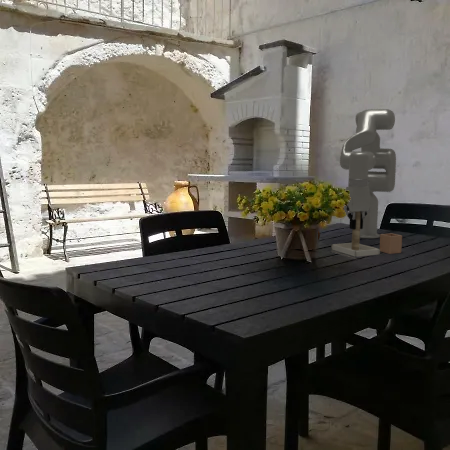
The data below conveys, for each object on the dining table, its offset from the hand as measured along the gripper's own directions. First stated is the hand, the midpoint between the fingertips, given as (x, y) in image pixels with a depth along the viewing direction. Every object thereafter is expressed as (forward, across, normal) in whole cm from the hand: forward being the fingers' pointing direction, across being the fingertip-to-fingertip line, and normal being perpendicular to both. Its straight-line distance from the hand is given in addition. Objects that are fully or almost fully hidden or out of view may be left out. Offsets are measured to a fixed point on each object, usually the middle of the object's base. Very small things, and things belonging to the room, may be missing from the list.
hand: (356, 228), depth 210 cm
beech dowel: (+9, 0, 0) cm, 9 cm away
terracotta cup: (+11, -13, +6) cm, 18 cm away
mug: (+11, +13, -15) cm, 23 cm away
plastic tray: (+11, 0, 0) cm, 11 cm away
